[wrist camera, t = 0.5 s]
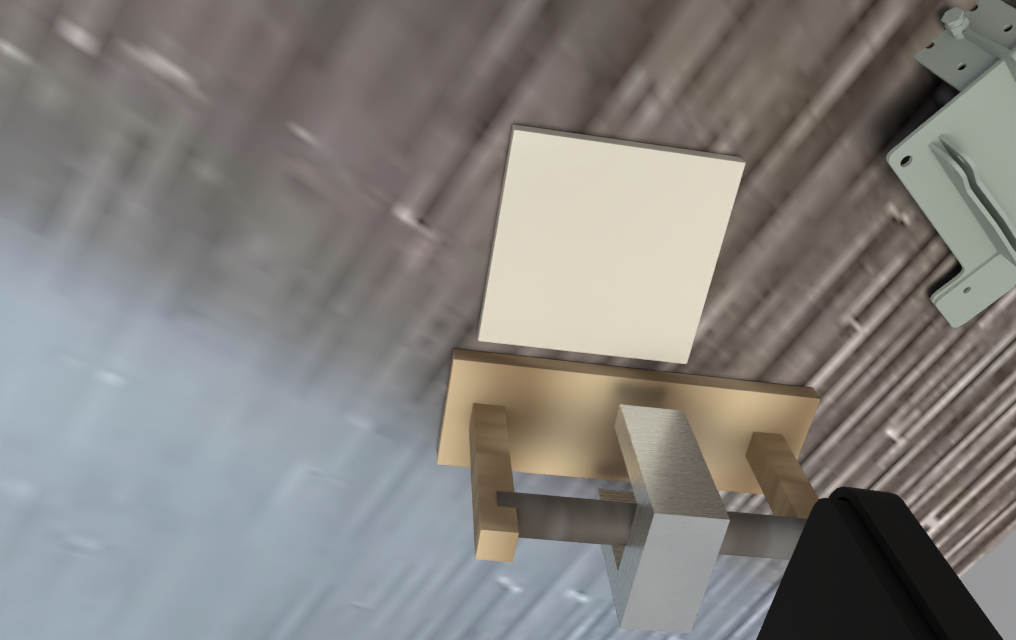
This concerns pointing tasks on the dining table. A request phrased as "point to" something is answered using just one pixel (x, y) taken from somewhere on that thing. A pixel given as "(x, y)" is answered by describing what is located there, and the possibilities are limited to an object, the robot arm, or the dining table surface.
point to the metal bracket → (969, 157)
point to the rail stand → (616, 447)
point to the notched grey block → (663, 522)
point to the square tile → (605, 244)
